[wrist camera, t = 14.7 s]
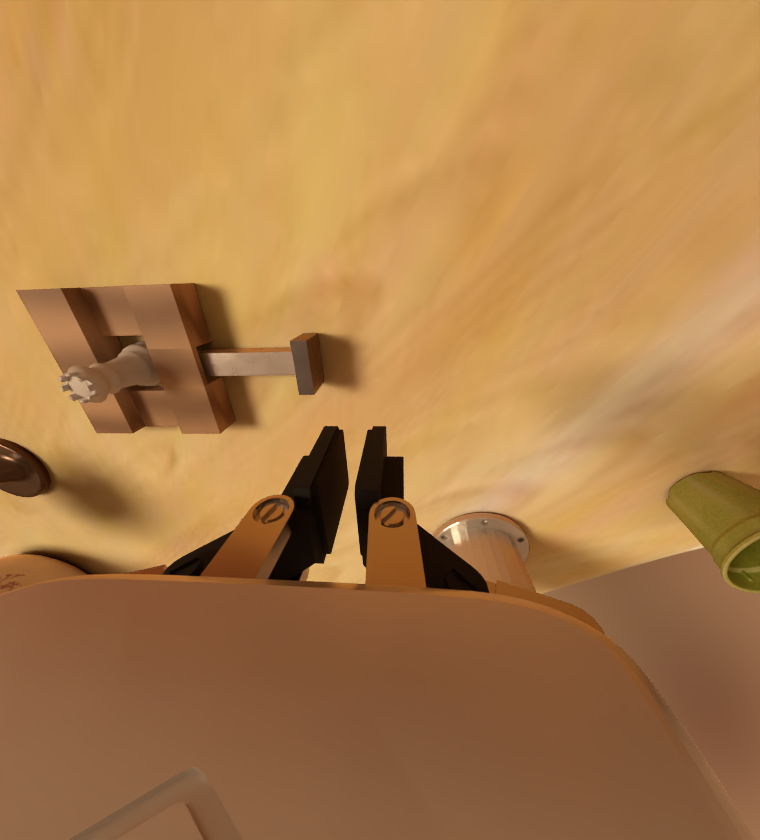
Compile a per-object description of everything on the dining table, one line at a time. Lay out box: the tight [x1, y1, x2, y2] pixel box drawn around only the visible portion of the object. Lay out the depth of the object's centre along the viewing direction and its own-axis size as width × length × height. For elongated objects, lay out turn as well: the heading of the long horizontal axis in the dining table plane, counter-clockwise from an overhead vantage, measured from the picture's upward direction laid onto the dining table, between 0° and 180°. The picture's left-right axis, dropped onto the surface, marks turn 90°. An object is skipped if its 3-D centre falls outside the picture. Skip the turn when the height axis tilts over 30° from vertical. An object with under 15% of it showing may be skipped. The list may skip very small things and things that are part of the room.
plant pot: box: [666, 471, 760, 593], centre depth 28 cm, size 9×9×9 cm
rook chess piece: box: [58, 342, 162, 403], centre depth 26 cm, size 4×4×8 cm
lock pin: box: [198, 333, 324, 395], centre depth 26 cm, size 5×11×4 cm, turn 92°
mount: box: [16, 283, 235, 434], centre depth 28 cm, size 14×14×3 cm
